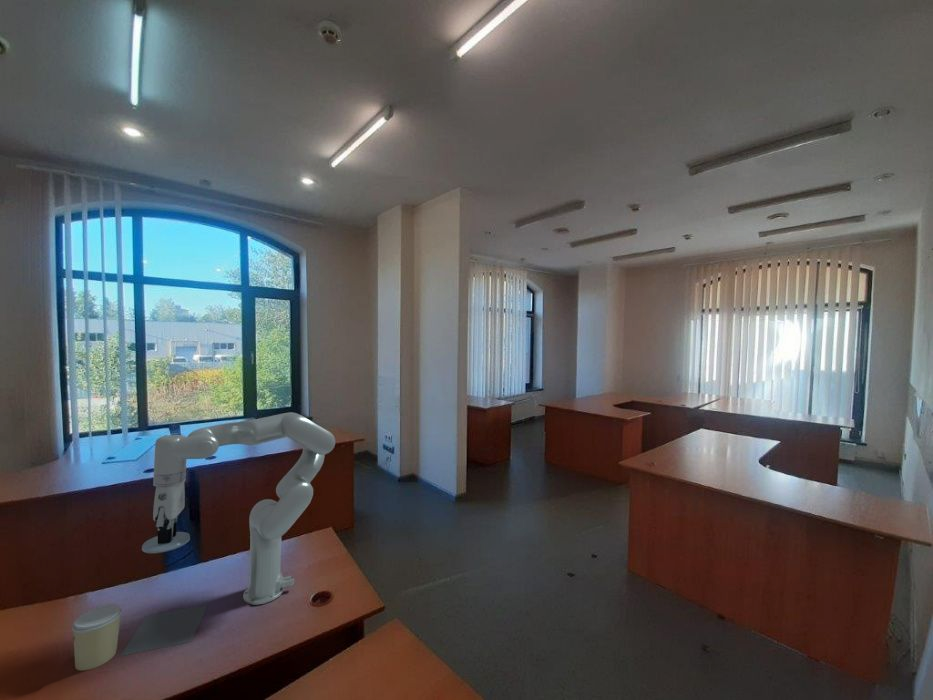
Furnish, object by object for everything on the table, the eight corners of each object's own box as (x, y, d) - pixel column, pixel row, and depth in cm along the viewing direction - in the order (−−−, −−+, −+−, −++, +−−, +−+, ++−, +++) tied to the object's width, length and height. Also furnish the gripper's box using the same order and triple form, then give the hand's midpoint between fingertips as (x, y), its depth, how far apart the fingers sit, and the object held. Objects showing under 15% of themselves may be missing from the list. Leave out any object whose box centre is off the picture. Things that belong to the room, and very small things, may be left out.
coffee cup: (93, 647, 103) (95, 603, 103) (129, 645, 104) (131, 602, 104) (59, 676, 94) (61, 628, 94) (99, 674, 95) (101, 627, 95)
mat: (208, 606, 120) (208, 605, 120) (190, 643, 105) (190, 641, 105) (147, 618, 115) (147, 616, 115) (119, 658, 100) (120, 656, 100)
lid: (195, 532, 116) (196, 508, 117) (182, 549, 106) (183, 523, 106) (152, 537, 113) (153, 512, 113) (134, 555, 102) (135, 528, 102)
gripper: (174, 485, 103) (171, 551, 103) (194, 468, 119) (191, 526, 118) (141, 488, 101) (137, 556, 100) (165, 470, 116) (163, 529, 116)
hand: (167, 539), depth 109 cm, fingers closed on lid, 2 cm apart
